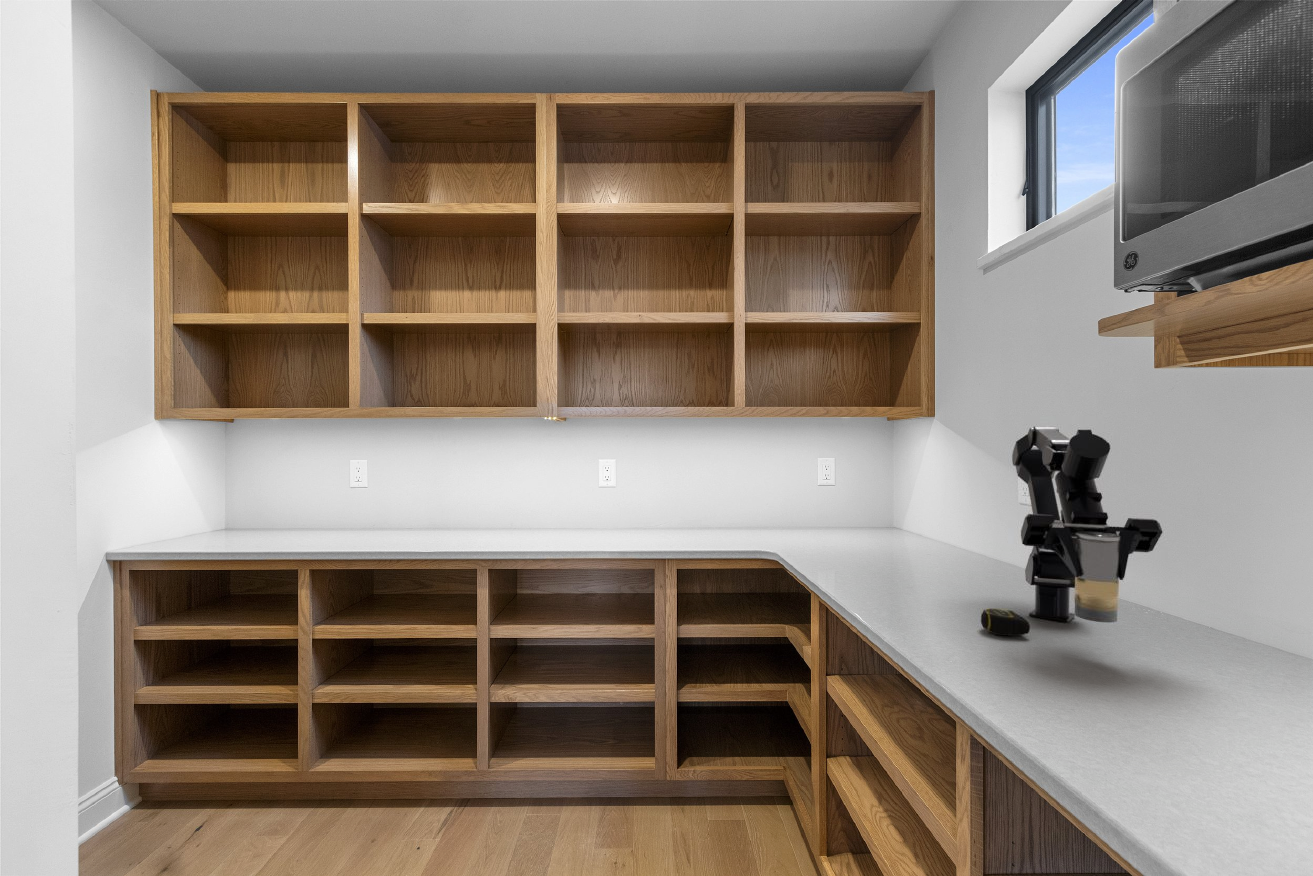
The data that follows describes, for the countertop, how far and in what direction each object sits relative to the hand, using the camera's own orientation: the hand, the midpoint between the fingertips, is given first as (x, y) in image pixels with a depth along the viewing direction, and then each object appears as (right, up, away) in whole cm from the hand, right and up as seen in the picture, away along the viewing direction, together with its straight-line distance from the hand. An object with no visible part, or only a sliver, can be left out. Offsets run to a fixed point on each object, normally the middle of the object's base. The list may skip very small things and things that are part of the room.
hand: (1099, 577), depth 102 cm
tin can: (0, -7, +2) cm, 7 cm away
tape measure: (-7, -13, +15) cm, 21 cm away
